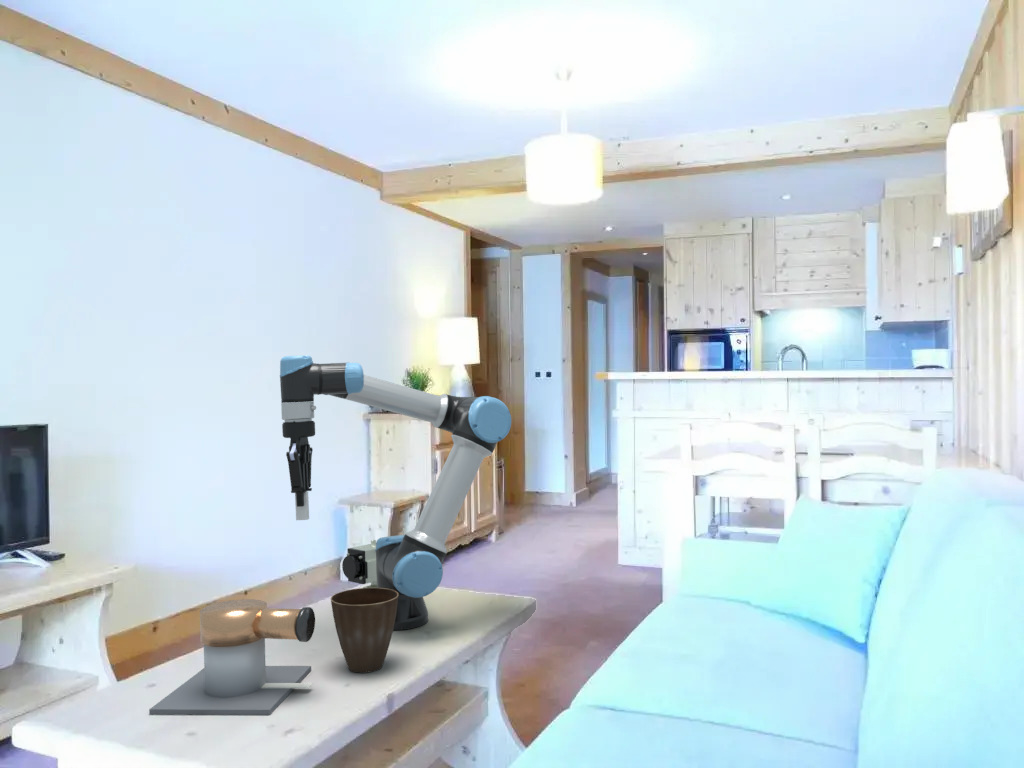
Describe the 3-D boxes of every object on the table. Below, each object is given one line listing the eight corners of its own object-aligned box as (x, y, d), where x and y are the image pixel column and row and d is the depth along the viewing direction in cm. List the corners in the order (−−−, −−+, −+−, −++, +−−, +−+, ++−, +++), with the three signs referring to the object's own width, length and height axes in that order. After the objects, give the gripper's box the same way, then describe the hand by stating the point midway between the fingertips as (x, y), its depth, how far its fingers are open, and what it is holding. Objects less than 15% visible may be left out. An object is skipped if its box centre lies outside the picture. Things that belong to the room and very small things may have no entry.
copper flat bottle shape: (187, 647, 158) (186, 613, 158) (223, 627, 171) (222, 596, 171) (293, 651, 153) (292, 617, 153) (322, 631, 166) (321, 599, 166)
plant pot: (397, 653, 184) (396, 585, 184) (402, 675, 169) (400, 601, 170) (332, 659, 181) (331, 590, 181) (332, 682, 166) (330, 607, 166)
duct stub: (328, 670, 174) (327, 620, 174) (290, 715, 150) (288, 657, 150) (206, 670, 176) (205, 621, 176) (149, 714, 152) (148, 657, 152)
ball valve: (360, 609, 222) (358, 547, 222) (342, 604, 228) (341, 543, 228) (408, 596, 236) (407, 537, 236) (390, 592, 241) (389, 534, 242)
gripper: (305, 421, 180) (310, 523, 180) (321, 418, 193) (325, 514, 193) (273, 422, 180) (277, 525, 180) (291, 419, 193) (295, 515, 193)
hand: (302, 519), depth 186 cm, fingers closed
